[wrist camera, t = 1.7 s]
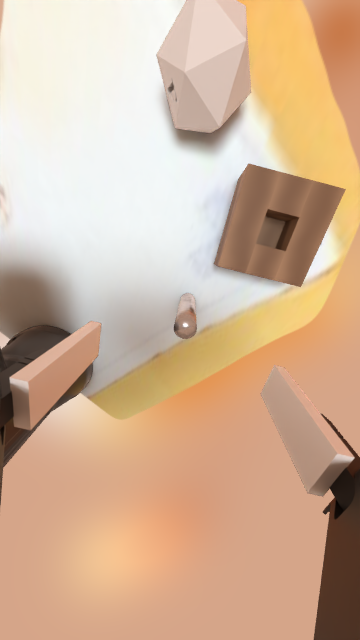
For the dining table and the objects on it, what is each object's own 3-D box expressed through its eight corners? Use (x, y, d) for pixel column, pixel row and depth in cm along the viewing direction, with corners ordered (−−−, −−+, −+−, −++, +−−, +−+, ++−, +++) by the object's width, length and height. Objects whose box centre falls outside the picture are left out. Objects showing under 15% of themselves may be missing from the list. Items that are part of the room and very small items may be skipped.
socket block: (214, 263, 29) (218, 266, 24) (238, 179, 25) (248, 163, 21) (283, 281, 29) (300, 287, 25) (317, 200, 26) (345, 189, 21)
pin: (178, 305, 32) (171, 335, 20) (182, 291, 31) (176, 315, 20) (192, 308, 32) (193, 341, 21) (196, 295, 31) (199, 320, 20)
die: (177, 43, 22) (124, 27, 16) (261, -26, 17) (226, -83, 11) (197, 140, 27) (162, 154, 21) (265, 108, 22) (243, 115, 17)
